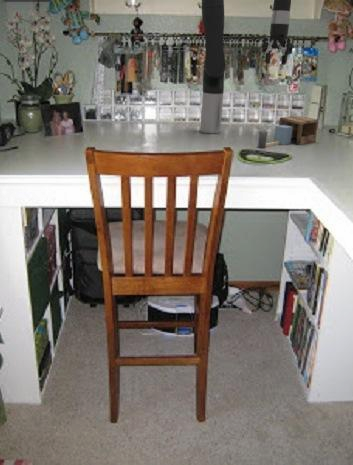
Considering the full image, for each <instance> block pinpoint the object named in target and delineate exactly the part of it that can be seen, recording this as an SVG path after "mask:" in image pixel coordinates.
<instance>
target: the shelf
mask: <svg viewBox="0 0 353 465" xmlns="http://www.w3.org/2000/svg"><path fill="white" fill-rule="evenodd" d="M278 121H279V123H278V126H279V125H286V126H291V127H293V129H292V136H291V139H296V143H295V144H296V145H297V146H301V145H305V144H310V143H315V142H316V139H317V138H316V137H317V133H318V125H319V121H318V119H317V118H311V117H306V116H300V115H290V116H282V117H279V120H278Z"/></svg>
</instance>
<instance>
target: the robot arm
mask: <svg viewBox="0 0 353 465" xmlns="http://www.w3.org/2000/svg"><path fill="white" fill-rule="evenodd" d="M291 4H292V0H273V6H272V12H271V13H272V14H271V18H270V30H269V35H270V36H269V37H267V36H266V37H264V38H263V42H262V49H261V50H262V53H264V54H265V57H264V58H265V60H264V62H265V64H270V63H271V58H272V52H273V51H274V50H275V49H276V50H279V51H280V52H281V54H282V55H281V64H280V65H281V66H285V65H286V64H287V62H288V56H289V55H292V54H293V46H294V38H288V37H287V36H288V35H289V27H290V19H291V6H292V5H291ZM201 20H202V21H201V22H202V27H203V35H204V40H205V54H204V55H205V57H204V58H205V59H204V63H203V74H202V76H203V78H202V98H201V99H202V100H201V111H200V112H201V114H200V128H199V129H200V130H199V131H200V133H203V134H219V133H221V132H222V118H223V105H224V104H223V103H224V92H225V90H224V89H225V85H224V84H225V72H226V71H225V70H226V67H227V62H226V59H225V58H226V57H225V49H224V32H225V0H201Z"/></svg>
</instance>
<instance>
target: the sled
mask: <svg viewBox="0 0 353 465" xmlns="http://www.w3.org/2000/svg"><path fill="white" fill-rule="evenodd" d="M292 129H293V127H291V126H286V125H279V124H278V125H275V129H274V130H275V131H274V136H273V141H272V142H268V143H267V137H268V132H267V131H259V134H258V141H257V142H258V144H257V148H259V147H260V148H259V149H266V147H270V146H271V147H272V146H277V145H282V146H284V145H285V146H286V145H290V144H291V143H292V138H291V136H292Z"/></svg>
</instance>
